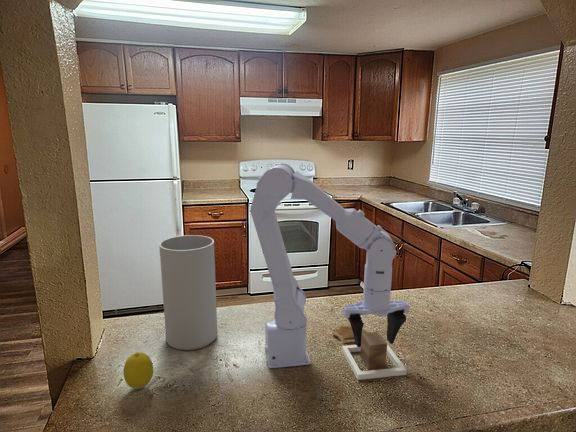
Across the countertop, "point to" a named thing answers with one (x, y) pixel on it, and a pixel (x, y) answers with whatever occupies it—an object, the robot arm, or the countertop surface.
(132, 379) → the lemon
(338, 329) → the shard
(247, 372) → the countertop surface
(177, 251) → the cylinder vase
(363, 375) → the white flat square frame
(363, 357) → the walnut block
